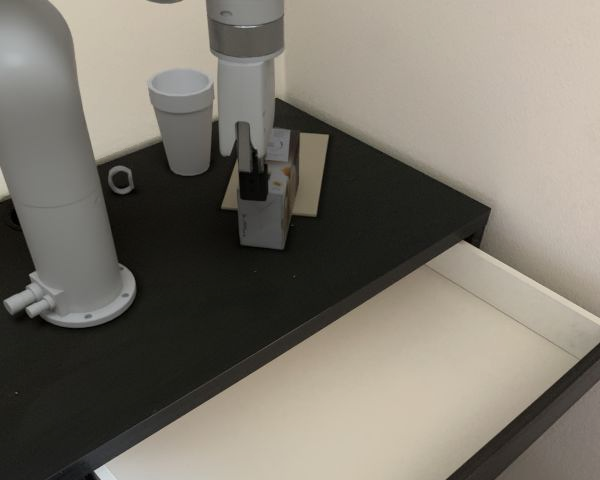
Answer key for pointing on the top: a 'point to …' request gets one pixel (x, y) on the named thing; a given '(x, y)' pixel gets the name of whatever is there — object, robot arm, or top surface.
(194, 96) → the foam cup
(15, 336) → the top surface
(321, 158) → the mat
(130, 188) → the grey ring
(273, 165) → the coffee box
